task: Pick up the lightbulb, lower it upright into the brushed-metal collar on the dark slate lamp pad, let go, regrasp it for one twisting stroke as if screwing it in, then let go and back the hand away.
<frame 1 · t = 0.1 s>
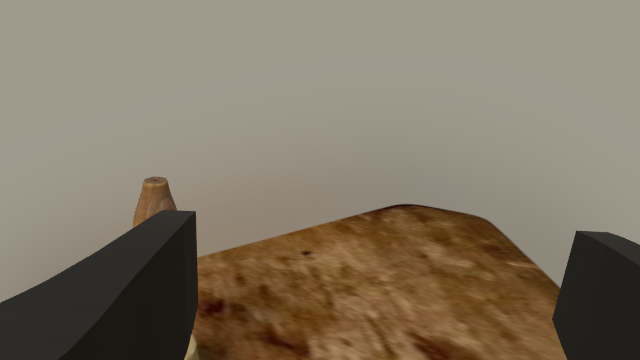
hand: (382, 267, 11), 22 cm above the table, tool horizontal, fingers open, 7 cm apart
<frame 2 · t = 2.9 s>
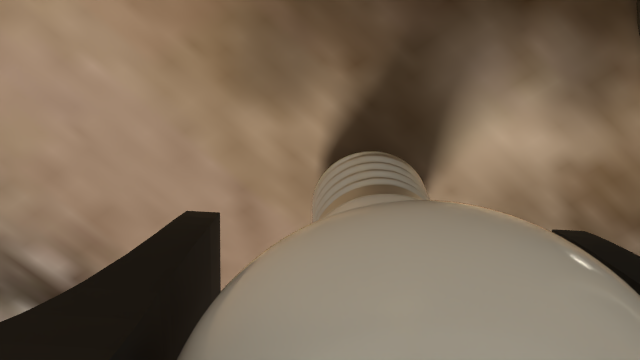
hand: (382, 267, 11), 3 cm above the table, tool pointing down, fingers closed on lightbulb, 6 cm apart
lightbulb: (365, 189, 14), on the table, touching gripper
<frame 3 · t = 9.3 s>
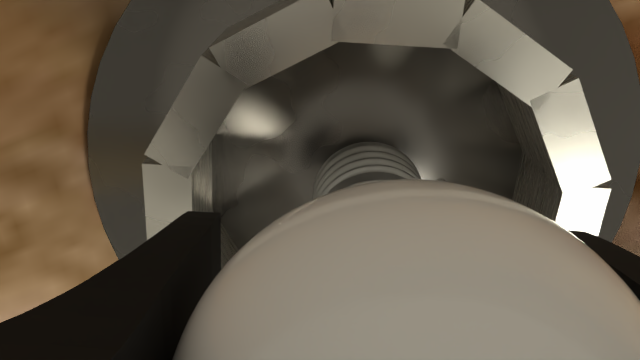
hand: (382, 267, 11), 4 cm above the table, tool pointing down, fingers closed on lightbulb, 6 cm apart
lamp base: (363, 176, 15), on the table
lightbulb: (364, 179, 15), resting on lamp base, touching gripper
when the fingers open (5 cm above the table, at t = 11.1 s): lightbulb stays where it is, resting on lamp base.
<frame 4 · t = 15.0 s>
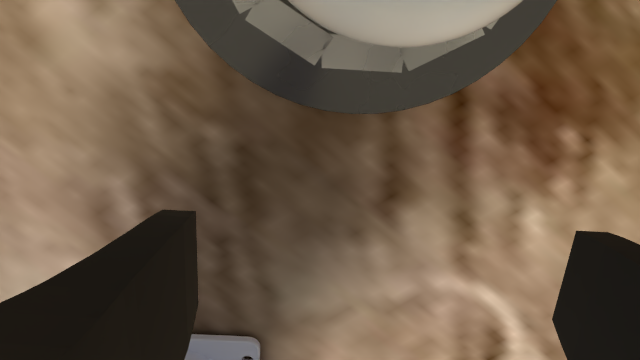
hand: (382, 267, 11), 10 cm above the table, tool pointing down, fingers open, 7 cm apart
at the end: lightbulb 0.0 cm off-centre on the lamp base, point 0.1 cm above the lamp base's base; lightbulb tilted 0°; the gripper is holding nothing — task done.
